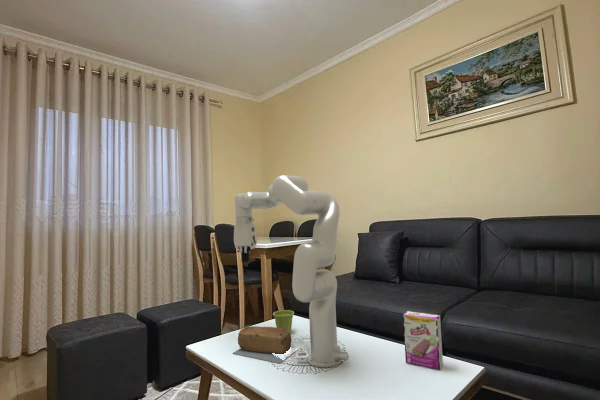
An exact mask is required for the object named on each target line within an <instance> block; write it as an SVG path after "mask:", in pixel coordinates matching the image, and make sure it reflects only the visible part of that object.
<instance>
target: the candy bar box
mask: <svg viewBox="0 0 600 400" xmlns="http://www.w3.org/2000/svg"><path fill="white" fill-rule="evenodd" d="M441 321H442V320H441V316H440V314H439V315H438V314H430V313H426V312H425V313H424V312H418V311H417V312H416V311H410V310H407V311H405V312H404V313H403V335H404V336H403V337H404V354H405V355H404V356H405V357H404V358H405V364H410V365H414V366H418V367H422V368H423V367H424V368H428V369H432V370H437V371H441V369H442V367H443V365H444V358H443V346H442V345H443V342H442V327H441V326H442V324H441V323H442V322H441Z"/></svg>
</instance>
